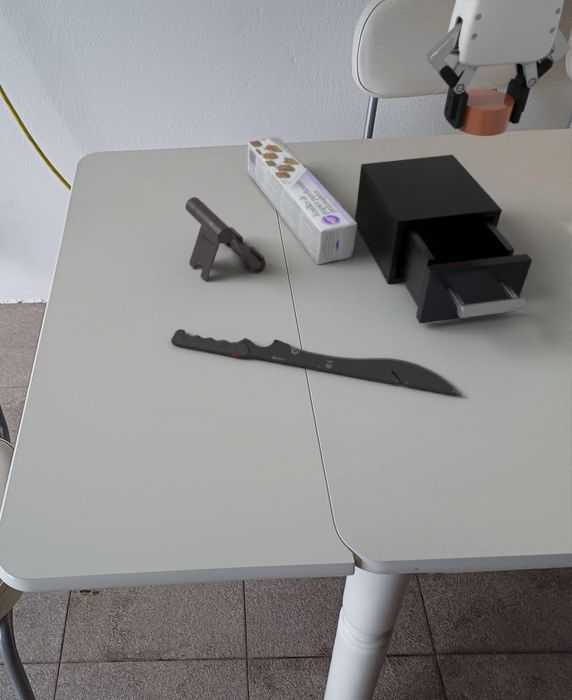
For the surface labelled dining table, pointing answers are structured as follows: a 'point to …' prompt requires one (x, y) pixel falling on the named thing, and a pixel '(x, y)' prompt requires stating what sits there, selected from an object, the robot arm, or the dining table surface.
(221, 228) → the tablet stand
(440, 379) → the knife
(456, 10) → the robot arm
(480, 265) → the drawer
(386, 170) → the cabinet
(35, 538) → the dining table surface
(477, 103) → the orange cylinder puck
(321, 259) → the box
